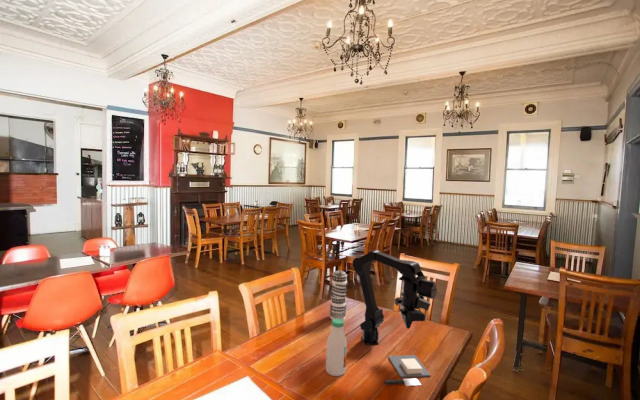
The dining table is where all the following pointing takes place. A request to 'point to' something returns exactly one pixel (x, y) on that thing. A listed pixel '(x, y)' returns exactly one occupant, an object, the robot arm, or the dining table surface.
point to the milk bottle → (336, 349)
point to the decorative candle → (338, 295)
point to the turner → (404, 382)
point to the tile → (411, 366)
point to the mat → (400, 370)
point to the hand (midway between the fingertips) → (407, 328)
